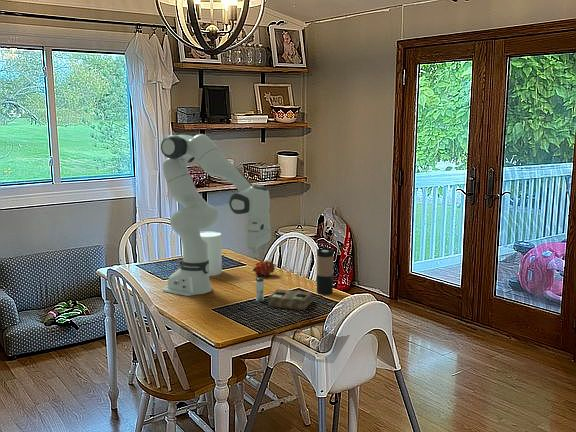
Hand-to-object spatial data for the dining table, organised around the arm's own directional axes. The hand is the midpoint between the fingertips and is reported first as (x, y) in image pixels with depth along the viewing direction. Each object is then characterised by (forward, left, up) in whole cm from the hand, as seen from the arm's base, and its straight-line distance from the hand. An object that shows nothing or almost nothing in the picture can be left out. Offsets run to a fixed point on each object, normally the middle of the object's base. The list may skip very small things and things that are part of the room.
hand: (259, 254), depth 261 cm
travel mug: (+24, +20, -21) cm, 38 cm away
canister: (-41, +35, -21) cm, 58 cm away
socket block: (+14, 0, -20) cm, 25 cm away
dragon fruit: (-12, +38, -21) cm, 45 cm away
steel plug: (0, 0, -21) cm, 21 cm away
